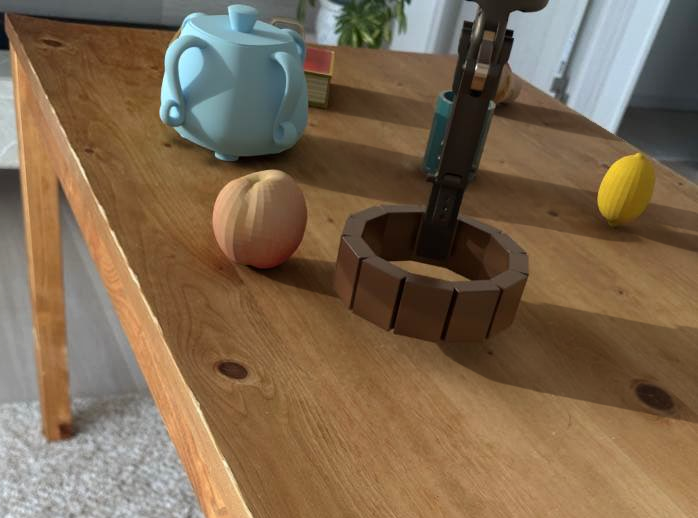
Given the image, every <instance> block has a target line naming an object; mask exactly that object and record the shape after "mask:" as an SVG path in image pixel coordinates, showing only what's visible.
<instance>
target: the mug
mask: <svg viewBox="0 0 698 518" xmlns="http://www.w3.org/2000/svg"><path fill="white" fill-rule="evenodd" d="M522 83H523V82H522V79H521V78H520V76H519V75H517V73H514V72H513V71H512V68H511V65H510V64H509V61H508V62H507V63H506V64H505V65H504V67H503V70H502V74H501V78H500V81H499V85H498V89H497V92H496V96H495V98H494V99H493V100H492V101H493V102H494V103H495V106H497V105H498V104H500V103H503V104H511V103H513V102H515V101H517V99H518V98H519V96H520V94H521V91H522V86H523V85H522Z"/></svg>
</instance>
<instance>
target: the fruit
mask: <svg viewBox="0 0 698 518" xmlns="http://www.w3.org/2000/svg"><path fill="white" fill-rule="evenodd" d="M308 218H309V217H308V208H307V201H306V198H305V194H304V193H303V190H302V188H301V187H300V185H299V184H298V183H297V182H296V180H294V179H293V177H291V176H290V175H289V174H288V173H287V172H284V171H281V170H279V169H266V170H265V169H264V170H260V171H257V172H251V173H249V174H247V175H244V176H241V177H238V178H236V179H232V180H231V181H229V182H228V183H227V184H226V185H225V186H224V187H223V188H222V189H221V190H220V192H218V195H217V197H216V200H215V203H214V205H213V212H212V229H213V233H214V236H215V239H216V242H217V244H218V246H219V247H220V249H221V251H222V252H223V254H224V255H225V256H226V257H227V258H228V259H229V260H230V261H231V262H233V263H234V264H236V265H238V266H239V265H240V266H252V267H254V268H257V269H263V270H264V269H265V270H266V269H272V268H275V267H277V266H279V265H281V264H284V262H285V261H287V260H289V259H290V258H291V257H292V256H293V255H294V253H296V251H297V250H298V248H299V247H300V245H301V243H302V241H303V239H304V235H305V232H306V228H307V225H308Z"/></svg>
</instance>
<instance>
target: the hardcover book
mask: <svg viewBox="0 0 698 518" xmlns="http://www.w3.org/2000/svg"><path fill="white" fill-rule="evenodd" d="M181 29H182V24H181V25H180V27H179V28H178V30H177V31H176V33H175V34H174V36H173V37H172V39H171V40H170V42H169V43H168V44H167V49H166V51H167V50H168V48H169V46H170V45H171V44H172V42H174V41H175V40H176V39H178V38H179V37H180V35H181ZM335 56H336V51H334V50H333V51H332V50H327V49H323V48H316V47H311V46H306V57H305V62H304V65H303V70H304V75H305V80H306V85H307V93H308V106H311V107H315V108H316V107H317V108H321V109H328V104H329V95H330V89H331V81H332V79H333V72H334V64H335Z"/></svg>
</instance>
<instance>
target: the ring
mask: <svg viewBox="0 0 698 518" xmlns="http://www.w3.org/2000/svg"><path fill="white" fill-rule="evenodd" d="M426 209H427V205H423V204H422V205H421V206H419V205H418V204H379V206H377V205H373V206H371V207H368V208H365V209H362V210H359V211H357V212H355V213H352V214H350V215H349V216H347V218H346V220H345V223H344V226H343V228H342V232H341V234H340V240H339V245H338V251H337V255H336V262H335V268H334V274H333V279H332V283H331V284H332V289H333V290H334V292H335V293H336V294H337V296H338V297H339V298H340V300H341V301H342V303H343V304H344V305H345V308H347V310H348V311H352V314H354V315H356V316H358V317H360V318H361V319H363V320H365V321H366V322H369V323H371V324H372V325H375V326H376V327H378V328H380V329H382V330H384V331H386V332H391V331H392V330H393V332H392V333H393V335H397V336H401V337H406V338H409V339H410V338H411V339H415V340H420V341H424V342H425V341H426V342H428V343H434V344H439V343H440V342H441V343H442V344H443V345H454V344H455V345H456V344H468V343H483V342H485V340H486V341H489V340H491V339H493V338H494V337H496V336H498V335H499V334H500V333H502V332H504V331H506V330H507V329H508V328H511V326H512V325H513V324H514V323H513V322H514V320H515V317H516V313H517V311H518V309H519V305H520V302H521V299H522V297H523V293H524V290H525V288H526V285H527V282H528V279H529V276H530V256H529V255H528V252H527V251H526V250H525V249H524V248H522V247H521V246H520V245H519V244H518V242H516V241H515V240H514V239H513V238H512V237H510V235H509V234H507V233H506V232H503V230H501V229H499V228H497V227H495V226H492V225H490V224H488V223H486V222H484V221H481V220H479V219H477V218H475V217H473V216H470V215H468V214H467V215H463V213H461V212H459V214H458V217H457V221H456V225H455V228H454V232H453V236H452V240H451V243H450V247H449V251H448V254H447V258H446V262H444V261H440V260H435V259H430V258H426V257H421V256H416V250H417V246H418V242H419V238H420V234H421V230H422V226H423V222H424V217H425V213H426ZM392 262H414V263H420V264H424V265H428V266H433V267H438V268H442V269H446V270H448V271H451V272H452V273H455V274H456V275H459V276H461V277H462V278H464V279H467V280H458V281H457V280H456V281H455V280H454V281H453V280H452V281H451V280H446V279H442V278H437V277H432V276H426V275H423V274H418V273H413V272H410V271H409V270H408V271H407V270H406V269H403V268H402V267H400V266H399V265H396V264H394V263H392Z"/></svg>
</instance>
